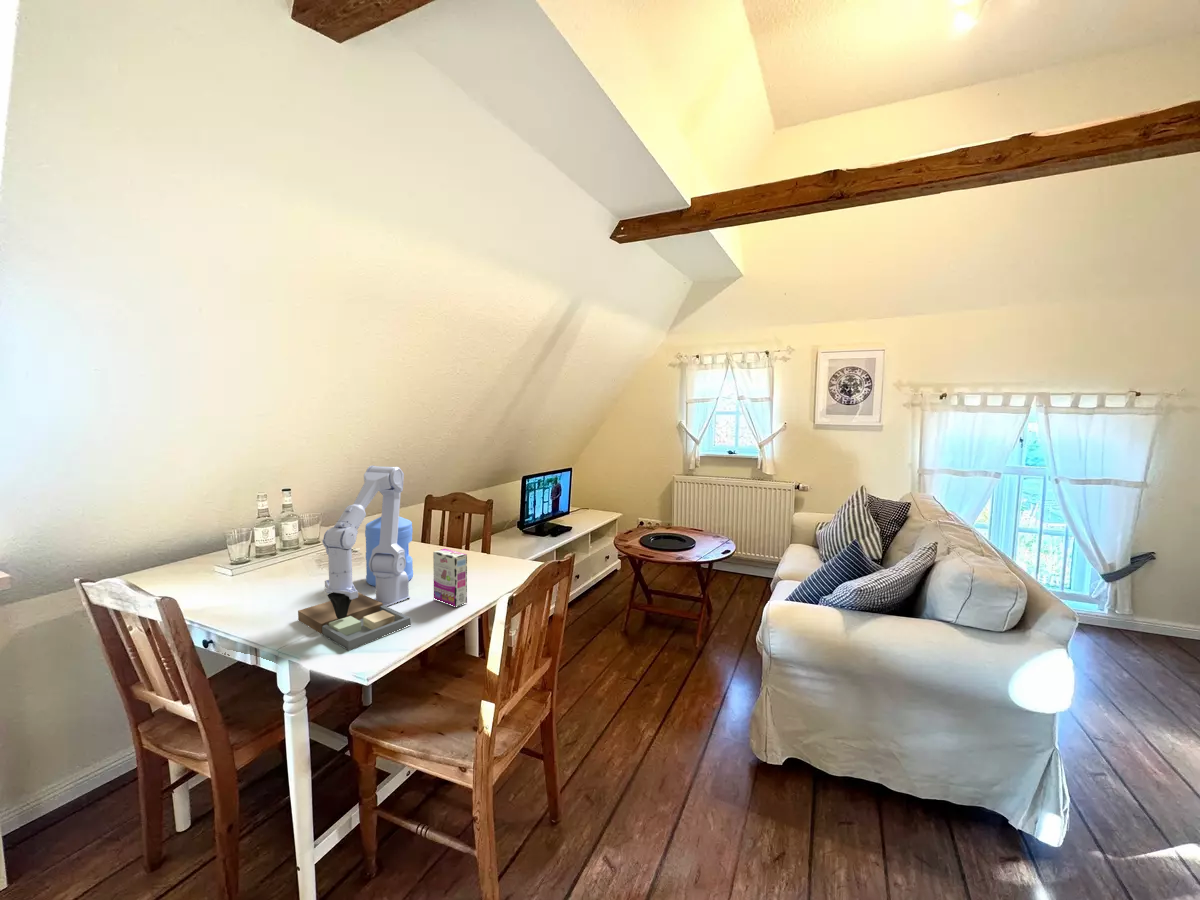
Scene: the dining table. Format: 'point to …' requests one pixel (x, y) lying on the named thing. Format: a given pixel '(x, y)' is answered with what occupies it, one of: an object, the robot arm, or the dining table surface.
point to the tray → (366, 631)
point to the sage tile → (346, 625)
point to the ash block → (378, 619)
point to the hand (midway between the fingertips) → (341, 617)
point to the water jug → (373, 541)
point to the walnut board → (326, 613)
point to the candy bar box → (450, 577)
